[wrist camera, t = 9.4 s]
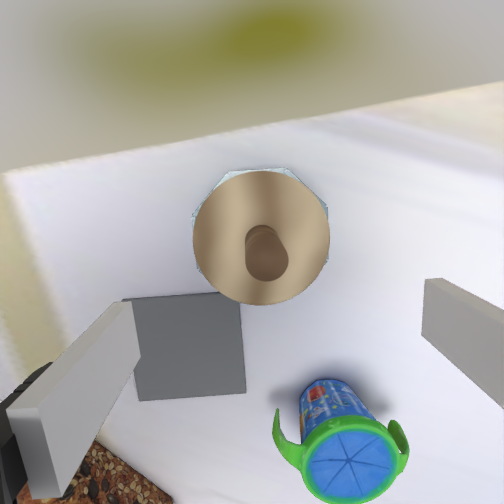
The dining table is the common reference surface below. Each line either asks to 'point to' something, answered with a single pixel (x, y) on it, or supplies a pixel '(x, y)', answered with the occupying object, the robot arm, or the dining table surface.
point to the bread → (103, 483)
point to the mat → (188, 346)
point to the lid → (261, 238)
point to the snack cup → (342, 446)
